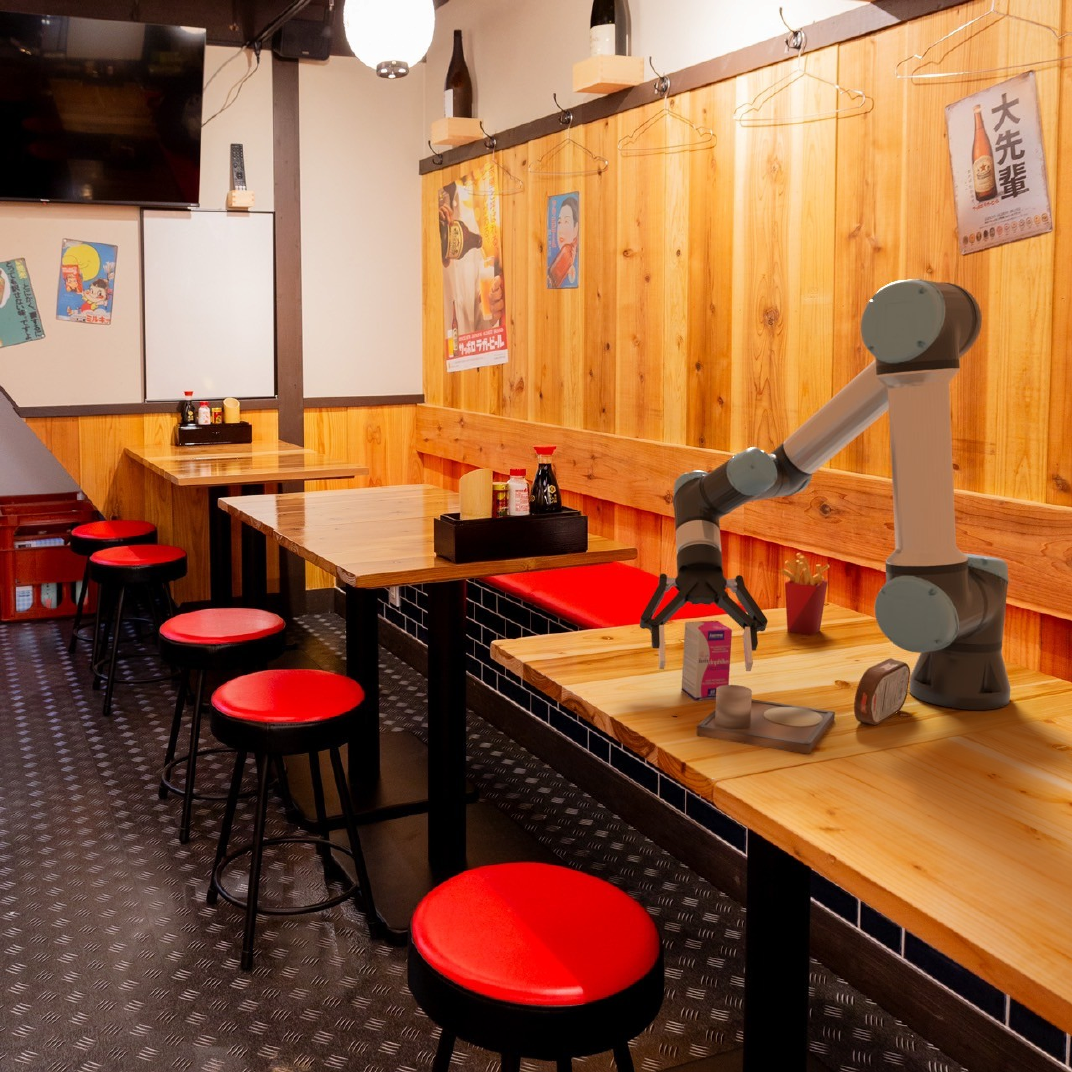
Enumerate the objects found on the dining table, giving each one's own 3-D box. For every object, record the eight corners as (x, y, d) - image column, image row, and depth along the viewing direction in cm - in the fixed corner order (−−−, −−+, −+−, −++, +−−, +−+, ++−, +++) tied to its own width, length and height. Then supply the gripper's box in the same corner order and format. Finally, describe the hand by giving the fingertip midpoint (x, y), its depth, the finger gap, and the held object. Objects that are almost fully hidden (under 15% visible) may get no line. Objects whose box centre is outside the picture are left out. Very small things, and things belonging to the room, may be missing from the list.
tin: (891, 704, 181) (895, 652, 180) (911, 708, 179) (915, 655, 178) (850, 728, 170) (853, 672, 168) (871, 733, 168) (874, 676, 166)
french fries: (826, 630, 227) (830, 554, 224) (812, 639, 220) (816, 561, 217) (783, 623, 231) (786, 549, 229) (767, 632, 224) (771, 556, 222)
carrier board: (834, 720, 173) (836, 680, 172) (809, 754, 158) (811, 710, 157) (729, 704, 179) (731, 665, 178) (696, 735, 165) (698, 693, 164)
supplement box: (695, 701, 181) (698, 630, 179) (680, 690, 186) (683, 621, 184) (729, 699, 182) (732, 628, 180) (714, 688, 188) (716, 619, 186)
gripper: (770, 568, 197) (781, 679, 185) (623, 565, 198) (624, 675, 185) (777, 542, 191) (789, 656, 179) (625, 539, 191) (627, 652, 179)
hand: (705, 666), depth 182 cm, fingers open, 13 cm apart
